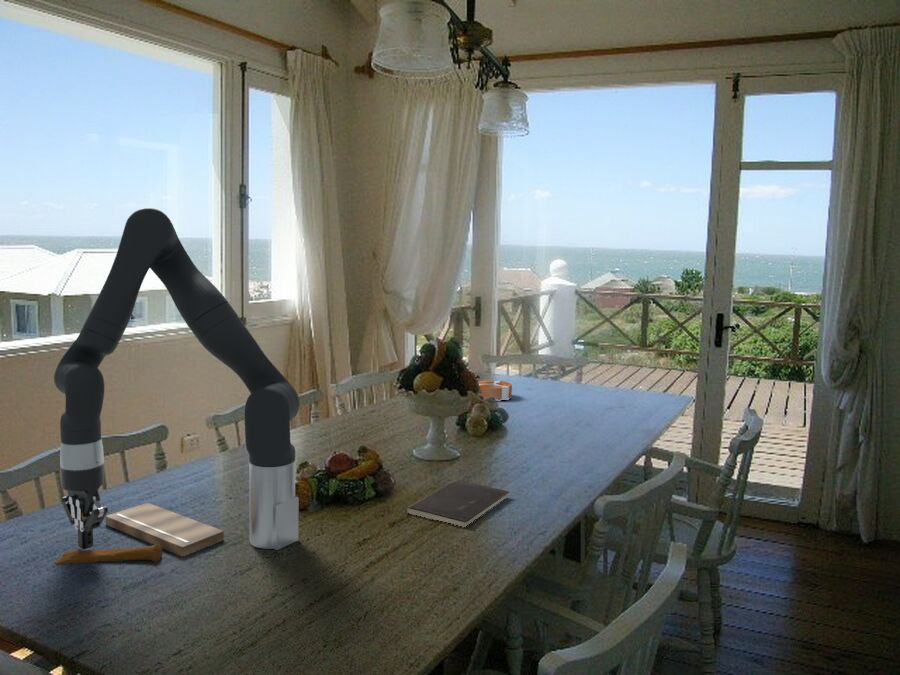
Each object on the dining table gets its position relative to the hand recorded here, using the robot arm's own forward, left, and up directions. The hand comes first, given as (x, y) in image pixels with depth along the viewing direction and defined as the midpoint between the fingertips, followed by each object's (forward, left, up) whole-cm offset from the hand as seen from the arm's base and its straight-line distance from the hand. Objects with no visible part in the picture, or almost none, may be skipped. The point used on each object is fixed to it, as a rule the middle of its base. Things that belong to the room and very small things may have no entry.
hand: (85, 547), depth 142 cm
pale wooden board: (-4, -15, -1) cm, 15 cm away
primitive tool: (-6, -1, -2) cm, 7 cm away
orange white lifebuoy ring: (+8, -176, -1) cm, 176 cm away
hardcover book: (-45, -67, -2) cm, 81 cm away
